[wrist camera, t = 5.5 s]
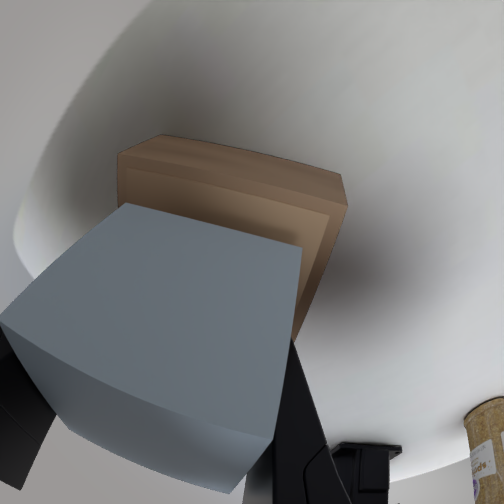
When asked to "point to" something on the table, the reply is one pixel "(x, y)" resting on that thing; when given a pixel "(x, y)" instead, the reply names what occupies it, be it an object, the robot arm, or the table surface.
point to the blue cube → (163, 341)
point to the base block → (240, 198)
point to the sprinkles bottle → (487, 451)
